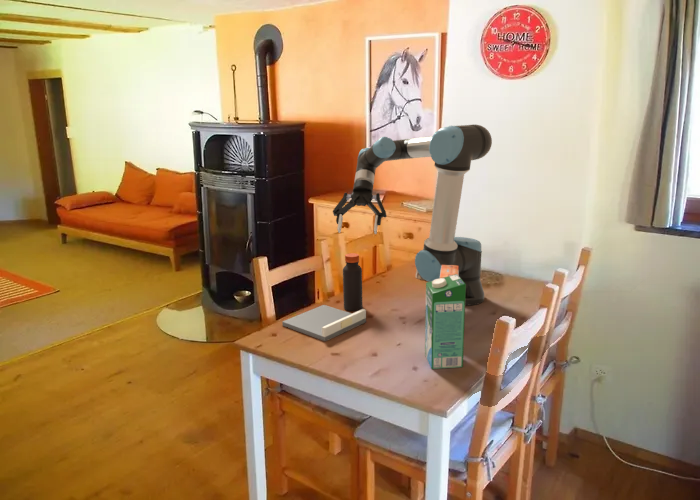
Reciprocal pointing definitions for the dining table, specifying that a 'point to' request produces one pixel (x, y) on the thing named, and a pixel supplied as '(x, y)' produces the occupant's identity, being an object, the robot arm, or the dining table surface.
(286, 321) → the grey flat square slab
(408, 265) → the dining table surface
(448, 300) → the milk carton
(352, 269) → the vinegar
